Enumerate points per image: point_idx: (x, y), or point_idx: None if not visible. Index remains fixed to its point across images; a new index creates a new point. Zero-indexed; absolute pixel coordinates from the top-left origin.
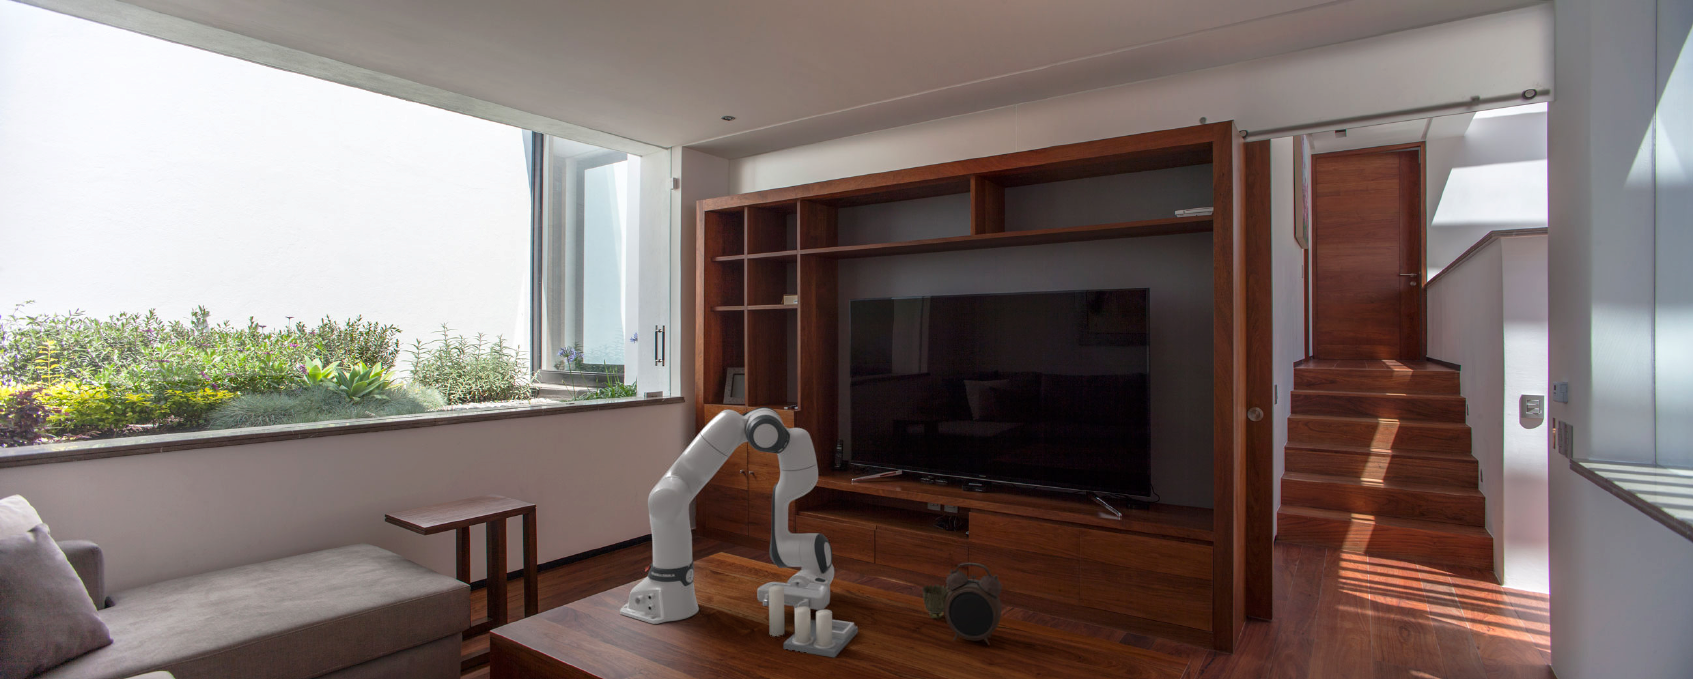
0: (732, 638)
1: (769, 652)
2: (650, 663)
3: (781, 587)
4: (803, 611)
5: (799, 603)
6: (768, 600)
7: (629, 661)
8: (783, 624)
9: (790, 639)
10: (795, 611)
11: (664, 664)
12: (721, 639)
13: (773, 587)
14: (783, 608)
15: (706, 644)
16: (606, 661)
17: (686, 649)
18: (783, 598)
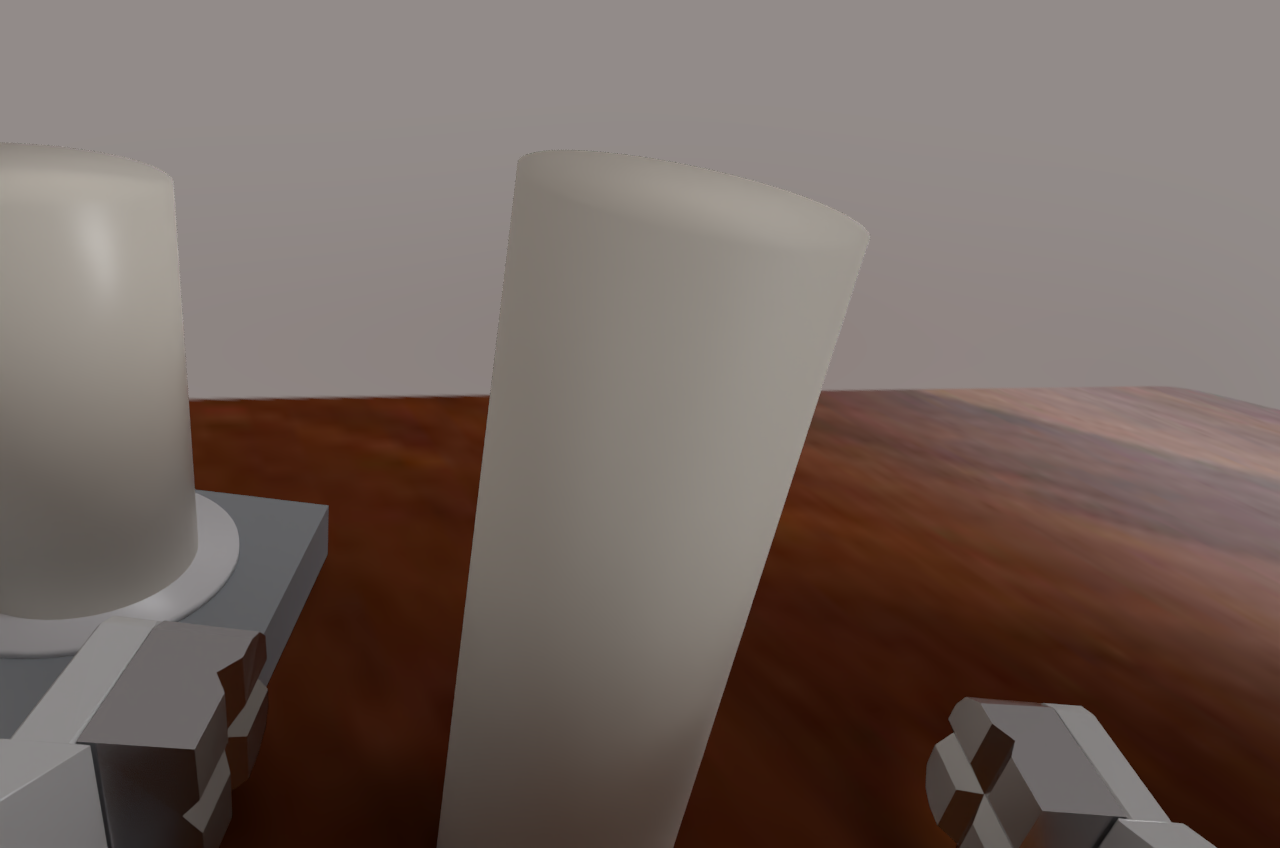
0: (912, 650)
1: (444, 506)
2: (983, 398)
3: (621, 203)
4: (19, 149)
5: (89, 667)
6: (1004, 765)
7: (1074, 405)
8: (448, 747)
9: (263, 566)
10: (155, 170)
11: (923, 394)
12: (969, 620)
13: (796, 216)
14: (473, 542)
15: (975, 547)
16: (1142, 403)
17: (1003, 491)
18: (494, 373)
